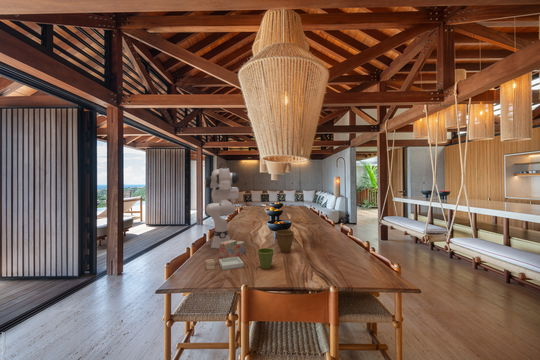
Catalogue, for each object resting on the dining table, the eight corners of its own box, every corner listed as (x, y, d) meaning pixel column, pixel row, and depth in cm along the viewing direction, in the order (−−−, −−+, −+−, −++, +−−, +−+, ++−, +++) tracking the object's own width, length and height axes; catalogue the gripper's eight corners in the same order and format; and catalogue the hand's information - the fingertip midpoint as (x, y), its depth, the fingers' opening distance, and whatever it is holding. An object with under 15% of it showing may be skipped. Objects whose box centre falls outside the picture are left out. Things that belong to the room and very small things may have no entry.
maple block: (205, 267, 162) (205, 260, 162) (213, 266, 164) (213, 259, 164) (206, 270, 157) (206, 262, 157) (214, 268, 159) (214, 261, 159)
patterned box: (239, 252, 195) (239, 237, 195) (245, 253, 192) (245, 238, 192) (219, 259, 179) (219, 242, 179) (225, 260, 175) (224, 244, 175)
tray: (218, 263, 169) (218, 259, 169) (238, 260, 174) (238, 256, 174) (222, 270, 156) (222, 265, 156) (243, 267, 161) (243, 262, 161)
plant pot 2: (277, 248, 204) (277, 229, 204) (294, 249, 201) (294, 230, 201) (274, 253, 190) (274, 233, 190) (293, 254, 187) (292, 234, 187)
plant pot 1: (258, 271, 154) (257, 253, 154) (256, 264, 166) (256, 248, 166) (276, 269, 156) (275, 252, 156) (273, 263, 168) (273, 247, 168)
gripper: (238, 187, 192) (239, 204, 190) (212, 188, 188) (213, 206, 187) (238, 186, 185) (239, 204, 184) (211, 188, 182) (212, 206, 181)
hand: (226, 205), depth 186 cm, fingers open, 8 cm apart
